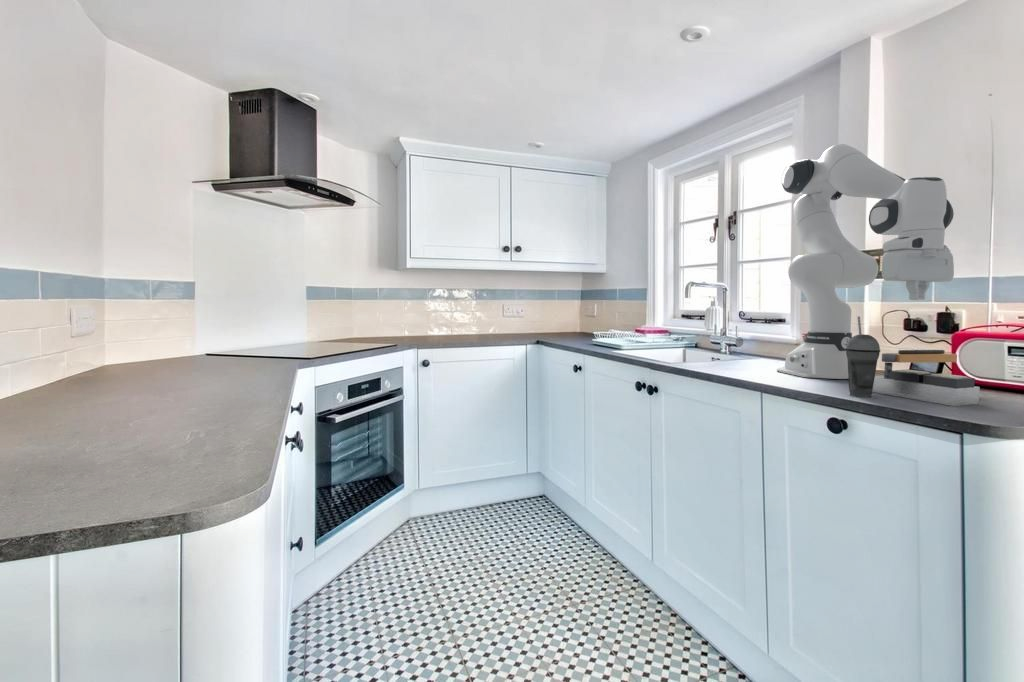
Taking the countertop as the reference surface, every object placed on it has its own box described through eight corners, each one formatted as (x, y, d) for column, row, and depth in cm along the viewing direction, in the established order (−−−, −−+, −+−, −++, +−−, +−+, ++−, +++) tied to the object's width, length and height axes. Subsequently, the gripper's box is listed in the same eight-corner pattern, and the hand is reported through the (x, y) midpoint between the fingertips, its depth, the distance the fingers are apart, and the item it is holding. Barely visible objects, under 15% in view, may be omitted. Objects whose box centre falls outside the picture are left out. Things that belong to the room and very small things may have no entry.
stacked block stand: (868, 391, 132) (869, 362, 131) (890, 389, 134) (891, 361, 134) (954, 406, 113) (956, 372, 112) (978, 404, 115) (980, 371, 115)
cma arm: (890, 362, 128) (891, 351, 128) (876, 360, 133) (877, 349, 132) (956, 362, 130) (957, 350, 129) (940, 360, 134) (941, 349, 134)
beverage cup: (876, 399, 120) (880, 317, 119) (840, 395, 125) (844, 316, 124) (879, 395, 126) (884, 316, 124) (845, 392, 131) (849, 315, 129)
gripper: (935, 246, 129) (932, 300, 130) (877, 243, 123) (874, 299, 124) (964, 243, 123) (960, 299, 124) (904, 240, 117) (900, 299, 118)
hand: (916, 299), depth 124 cm, fingers closed
